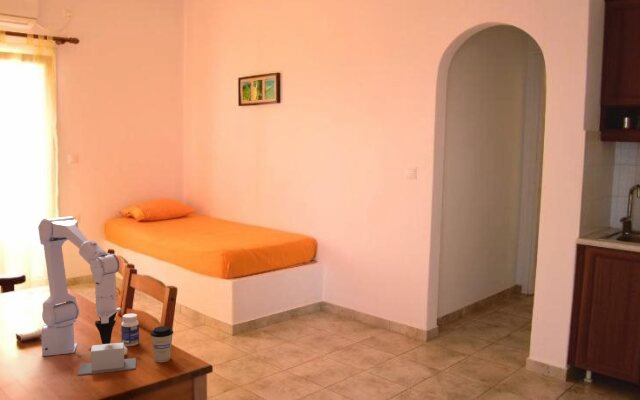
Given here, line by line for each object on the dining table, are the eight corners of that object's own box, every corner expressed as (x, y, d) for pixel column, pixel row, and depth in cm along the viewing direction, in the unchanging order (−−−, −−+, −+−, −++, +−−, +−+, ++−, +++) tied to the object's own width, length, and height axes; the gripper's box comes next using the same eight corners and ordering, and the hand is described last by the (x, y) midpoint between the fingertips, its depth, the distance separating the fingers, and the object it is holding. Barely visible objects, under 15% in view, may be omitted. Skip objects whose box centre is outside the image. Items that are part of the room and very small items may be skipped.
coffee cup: (153, 355, 173) (153, 325, 172) (175, 354, 173) (175, 324, 172) (148, 364, 166) (148, 332, 165) (171, 363, 166) (171, 332, 165)
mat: (77, 375, 157) (77, 374, 157) (80, 365, 165) (80, 363, 164) (135, 369, 162) (135, 367, 162) (135, 359, 170) (135, 357, 169)
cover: (91, 370, 159) (90, 351, 159) (92, 364, 164) (92, 345, 164) (123, 367, 162) (123, 348, 162) (124, 361, 167) (123, 342, 166)
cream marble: (117, 357, 171) (117, 348, 170) (117, 354, 173) (117, 345, 173) (127, 356, 172) (127, 347, 171) (127, 353, 174) (127, 344, 174)
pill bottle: (133, 347, 179) (132, 318, 178) (118, 346, 180) (117, 317, 179) (142, 341, 185) (141, 313, 184) (127, 340, 186) (126, 312, 185)
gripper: (119, 300, 155) (120, 346, 157) (120, 288, 169) (122, 329, 170) (92, 302, 153) (94, 348, 155) (96, 289, 167) (98, 331, 168)
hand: (107, 339), depth 162 cm, fingers open, 7 cm apart
